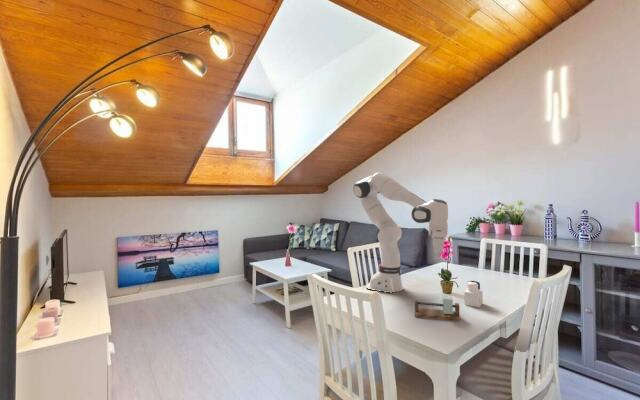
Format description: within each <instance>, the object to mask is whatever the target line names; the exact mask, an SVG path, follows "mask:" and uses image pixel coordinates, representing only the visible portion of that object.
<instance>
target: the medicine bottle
mask: <svg viewBox="0 0 640 400" xmlns="http://www.w3.org/2000/svg"><path fill="white" fill-rule="evenodd" d="M483 301H484V300H483V290H482V289H481V284H480V282H478V281H477V280H469V281H467V283H466V290H465V291H464V305H465V306H470V307H474V308H480V307H481V306H482V305H483Z"/></svg>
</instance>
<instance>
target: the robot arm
mask: <svg viewBox="0 0 640 400" xmlns="http://www.w3.org/2000/svg"><path fill="white" fill-rule="evenodd" d="M352 188H353V193H354V195H355V196H356V197H357V198H359V200H360V202H361V206H362V208H363V210H364V211H365V213H366V215H367V216H368V218H369V220H370V221H371V222H372V224H373V225H374V226H375V227H377V229H378V230H379V232H378V233H377V240H378V242H379V247H380V251H381V252H380V253H381V264H378V271H377V272H376V273H374V274H372V276H371V277H370V281H369V283H367V284H366V285H365V287H366V289H367V288H368V289H375V290H378V291H377V292H379V290H380V291H384V292H383V293H386V292H390V293H389V294H392V292H393V293H396V292H397V293H398V292H401V291H403V290H404V286H403V283H402V282H403V281H402V266H401V253H400V251H399V245H398V241H399V240H401V237H402V234H403V232H402V228H401V227H400V226H399V225H398V224H397V223H396V222H395V220H394V219H393V218H392V217H391V216H390V214H389V213H388V212H387V210H386V209H385V207H384V205H383V204H382V203H381V200H380V199H379V197H378V194H380V195H382V196H383V197H384V198H386V199H388V200H389V201H395V202H396V201H397V202H403V203H406V204H408V205H410V206H411V207H413V208H412V210H411V218H412V220H413V222H415V223H417V224H426V223H428V225H429V226H428V234H429V235H430V236H431V238H432V240H433V242H432V245H433V251H434V255H435V261H440V259H441V254H443V252H444V246H445V245H444V244H445V240H446V238H447V236H448V229H449V228H448V225H449V224H448V219H449V206H448V203H447V201H445V200H443V199H436V198H433V199H431V200H430V201H428V202H427V201H425V200H424V199H423V198H421V197H419V195H416V194H415V193H413V192H412V191H410V190H409V189H407V188H406V187H404V186H403V185H402V184H401V183H399V182H398V181H396V180H395V179H394V178H393V177H392V176H390V175H388V174H385V173H383V172H382V171H379V172H376V173H374V174H372V175H369V176H366V177H365V178H363V179H361V180H358V181H357V182H356V183H355V184H354V185H353V187H352Z"/></svg>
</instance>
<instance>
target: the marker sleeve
mask: <svg viewBox="0 0 640 400" xmlns="http://www.w3.org/2000/svg"><path fill="white" fill-rule="evenodd" d="M453 303H454V302H453V296H452V295H446V294H445V295H443V294H442V304H443V307H442V310H443V313H444V314H453V311H454V309H453V308H454V307H453V305H454V304H453Z"/></svg>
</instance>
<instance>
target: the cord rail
mask: <svg viewBox="0 0 640 400" xmlns="http://www.w3.org/2000/svg"><path fill="white" fill-rule="evenodd" d="M419 305H421V306H432V307H433V306H434V307H442V308H443V303H437V302H436V303H435V302H426V301H425V302H424V301H419V300H418V299H415V300H414V317H415V318H419V317H420V318H421V319H429V320H431V319H432V320H441V321H449V322H451V321H452V322H461V317H460V303H458V302H456V303H454V304H453V308H454V310H453V314H444V313H443V309H442V310H441V309H436V308H435V309H433V308H424V307H423V308H422V307H419Z"/></svg>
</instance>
